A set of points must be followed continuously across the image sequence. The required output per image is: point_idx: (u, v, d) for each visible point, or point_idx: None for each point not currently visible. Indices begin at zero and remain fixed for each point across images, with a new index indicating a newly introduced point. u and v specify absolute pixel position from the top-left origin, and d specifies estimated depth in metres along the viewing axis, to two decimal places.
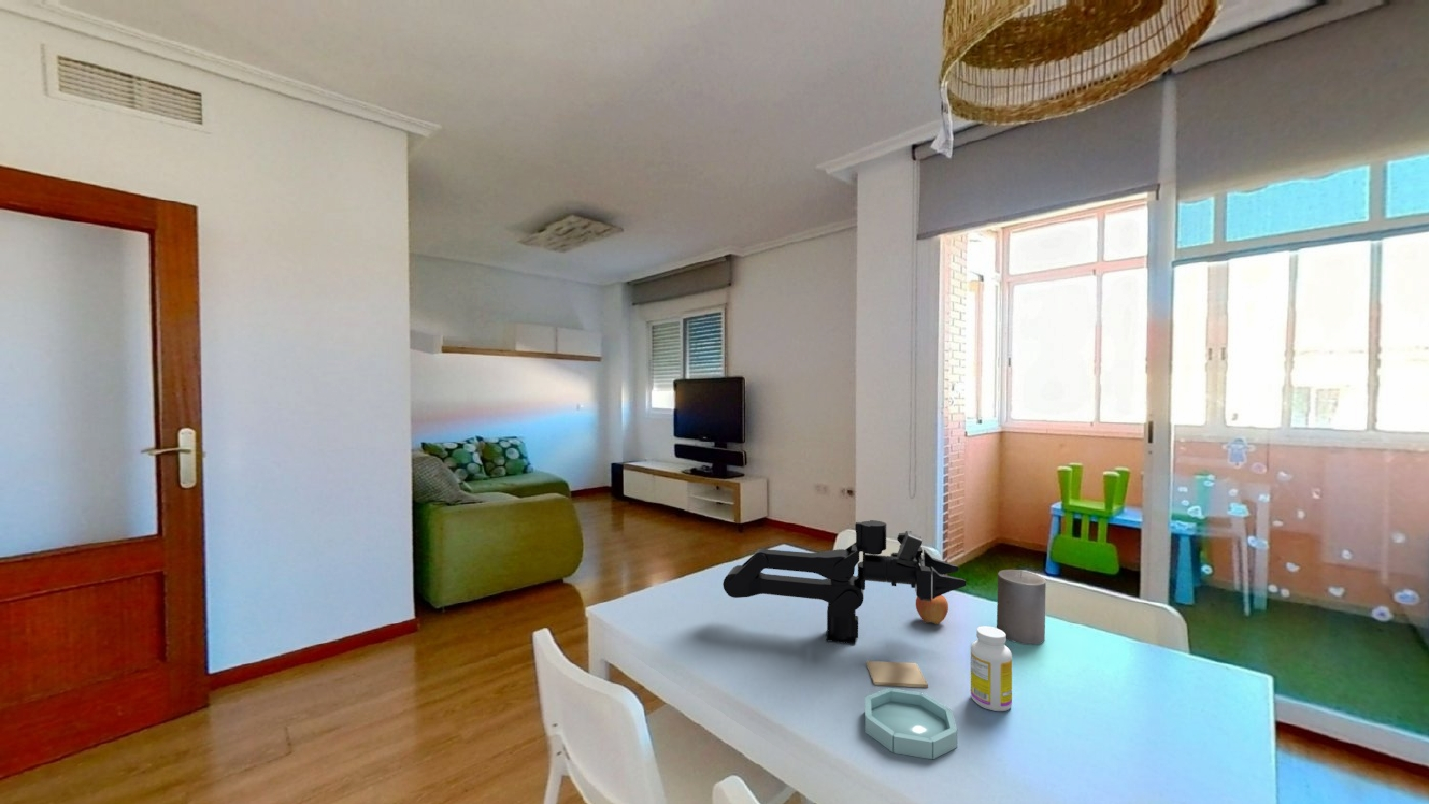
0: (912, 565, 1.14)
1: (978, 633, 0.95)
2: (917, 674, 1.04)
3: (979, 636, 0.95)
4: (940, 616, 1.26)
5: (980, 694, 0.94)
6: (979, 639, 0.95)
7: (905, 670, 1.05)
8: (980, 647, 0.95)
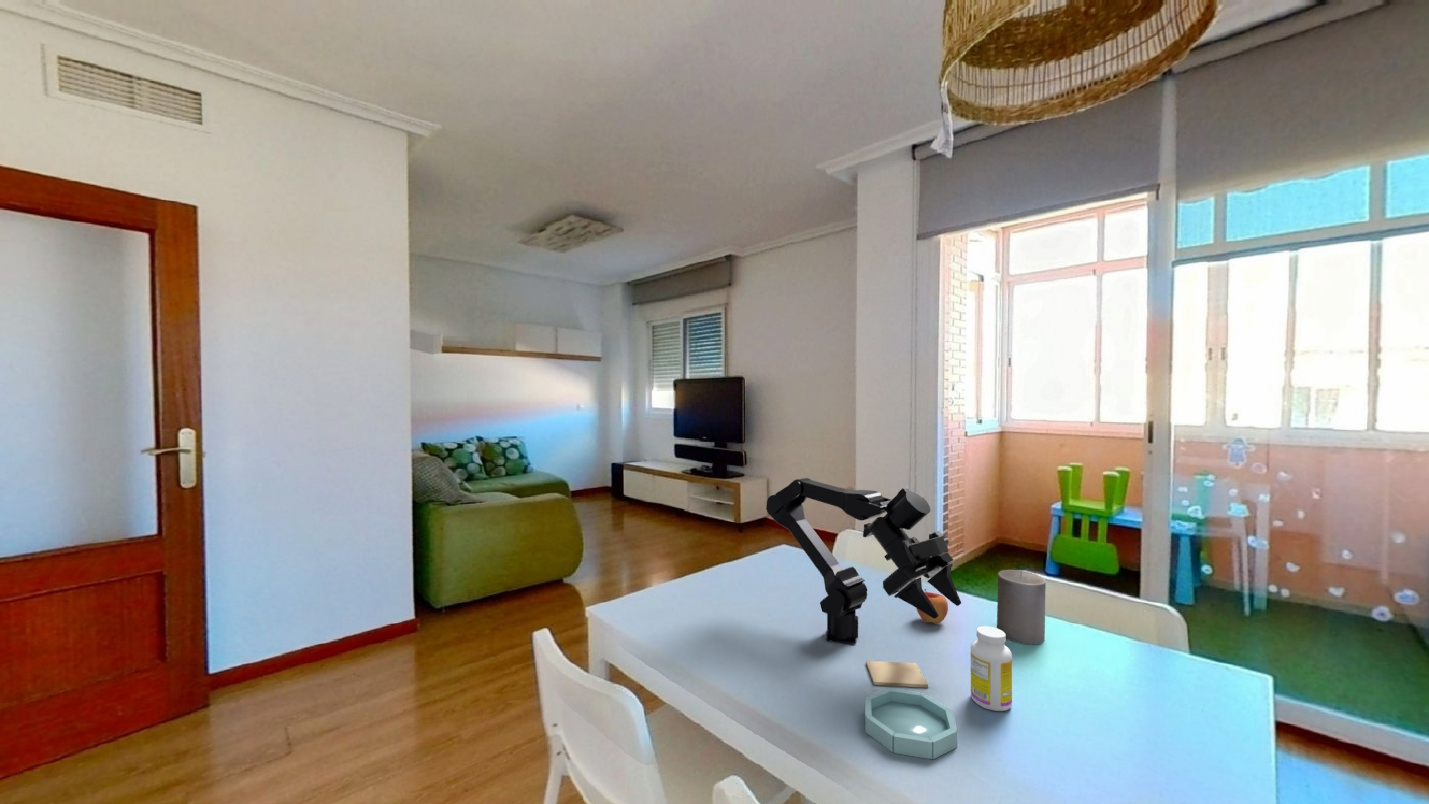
0: (912, 561, 1.04)
1: (978, 633, 0.95)
2: (917, 674, 1.04)
3: (979, 636, 0.95)
4: (940, 616, 1.26)
5: (980, 694, 0.94)
6: (979, 639, 0.95)
7: (905, 670, 1.05)
8: (980, 647, 0.95)
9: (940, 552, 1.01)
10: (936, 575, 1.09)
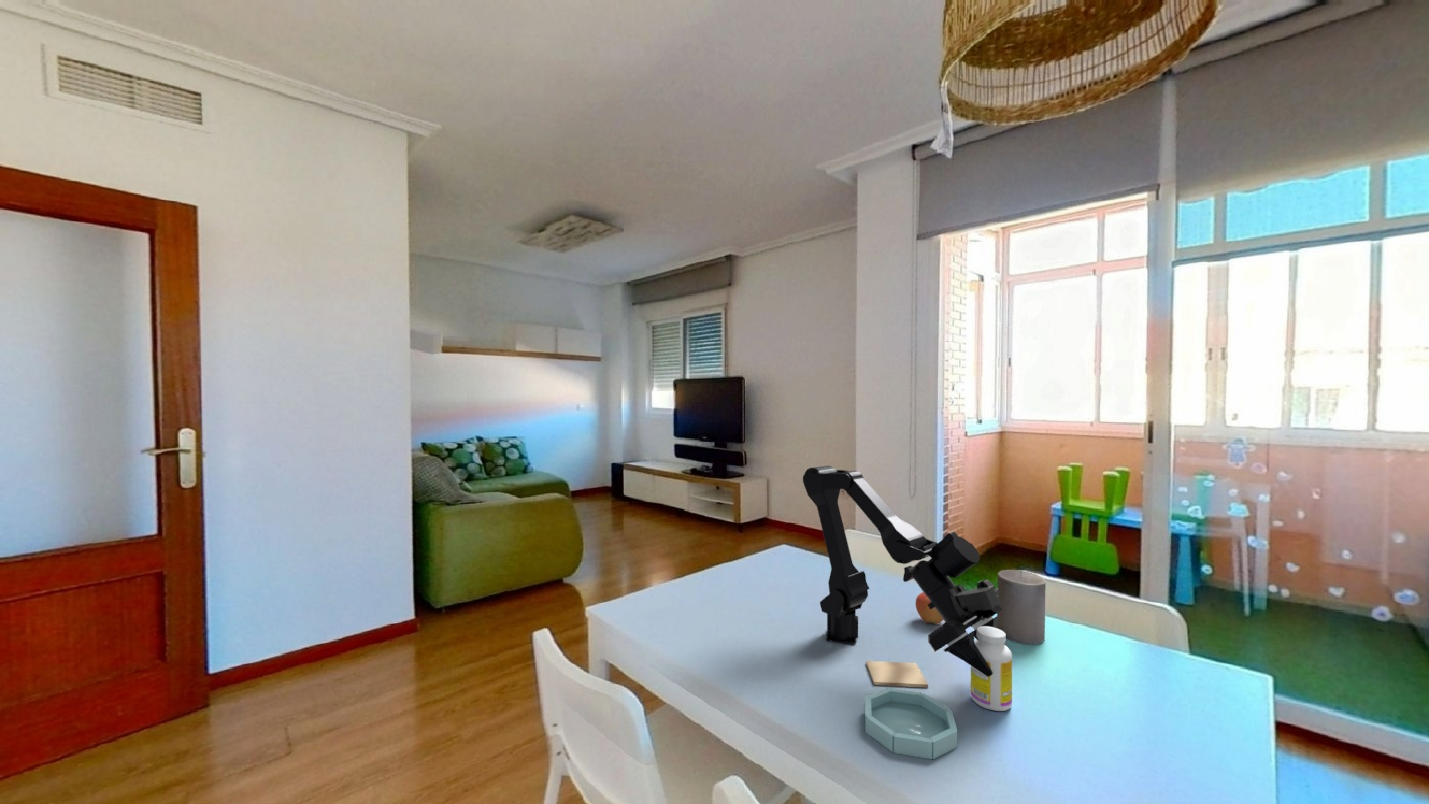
0: (959, 613, 0.97)
1: (978, 633, 0.95)
2: (917, 674, 1.04)
3: (979, 636, 0.95)
4: (940, 616, 1.26)
5: (980, 694, 0.94)
6: (979, 639, 0.95)
7: (905, 670, 1.05)
8: (980, 647, 0.95)
9: (991, 606, 0.94)
10: None
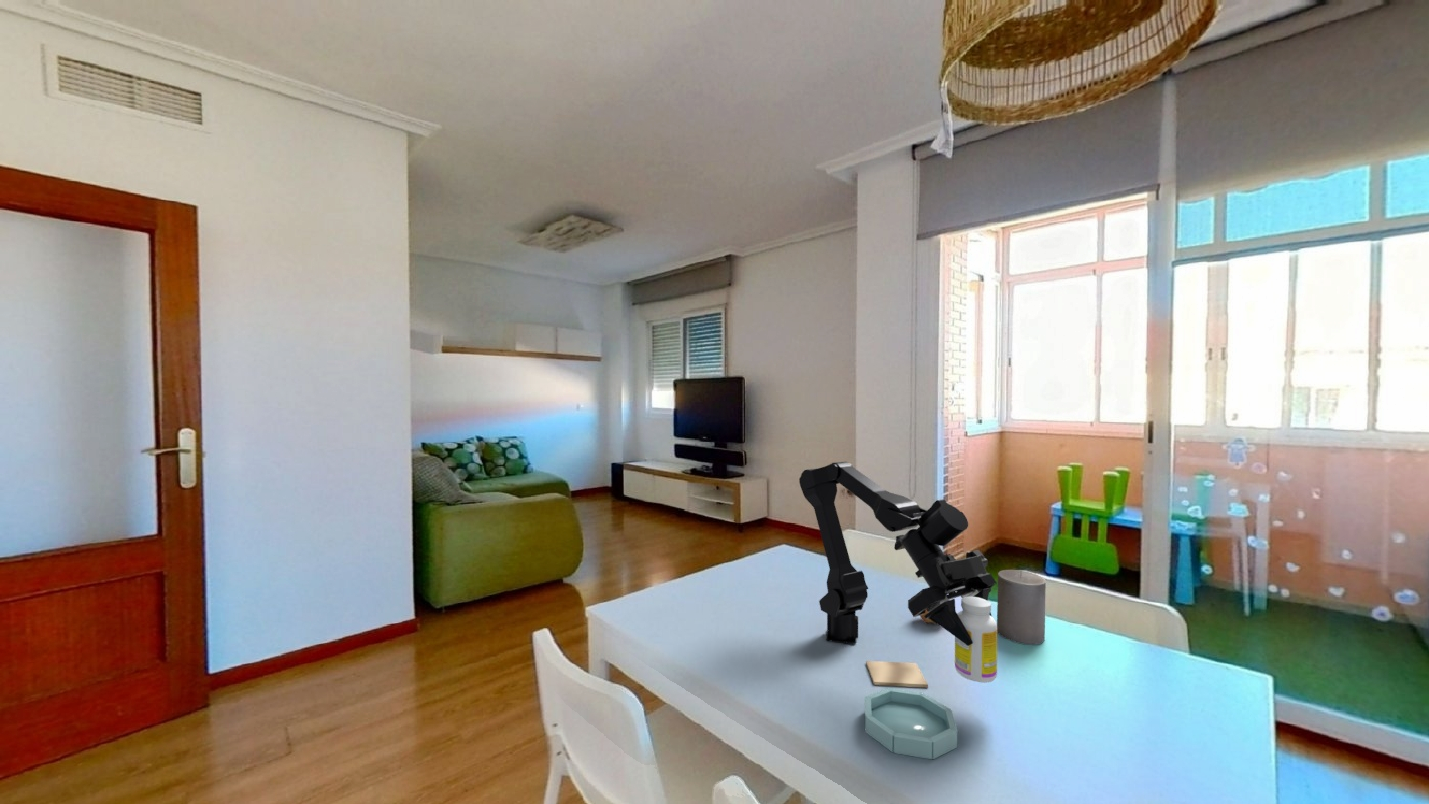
0: (943, 581, 0.95)
1: (962, 602, 0.93)
2: (917, 674, 1.04)
3: (962, 605, 0.92)
4: None
5: (961, 664, 0.91)
6: (963, 608, 0.93)
7: (905, 670, 1.05)
8: (963, 616, 0.92)
9: (975, 574, 0.91)
10: None
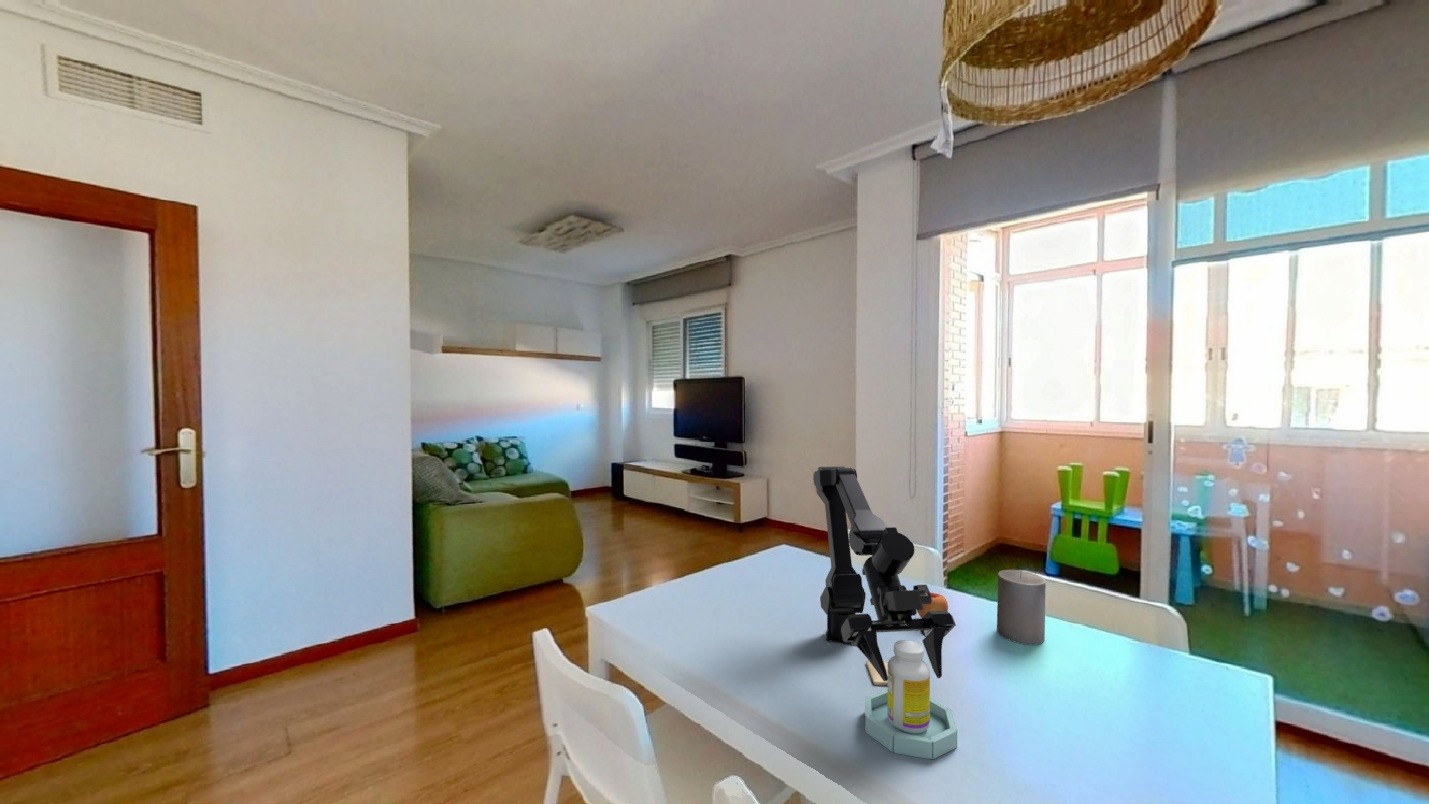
0: (881, 611, 0.92)
1: (894, 644, 0.89)
2: None
3: None
4: None
5: (888, 708, 0.88)
6: None
7: None
8: (893, 659, 0.89)
9: (903, 608, 0.87)
10: (928, 636, 0.92)
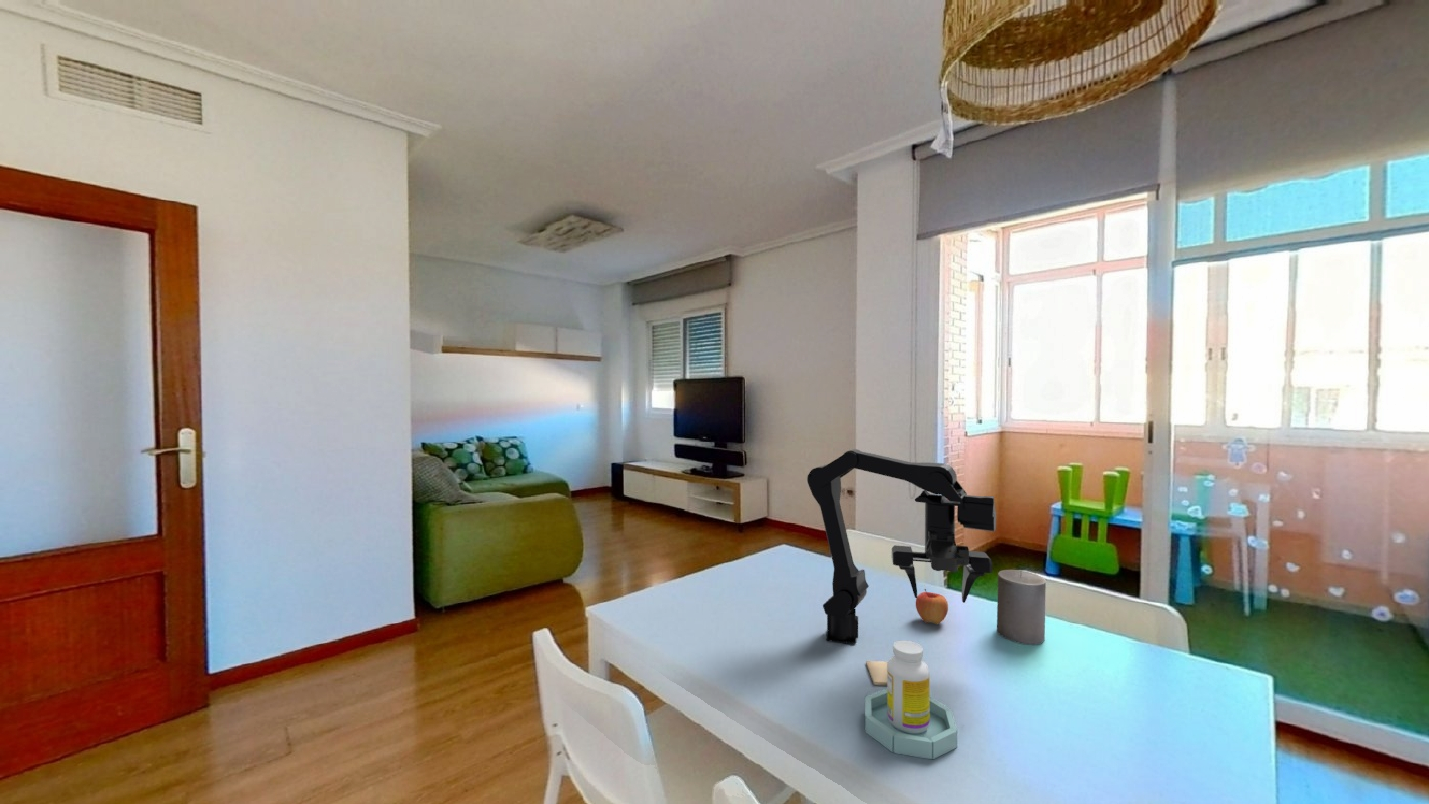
0: (926, 551, 1.08)
1: None
2: None
3: (893, 648, 0.89)
4: (940, 616, 1.26)
5: (888, 708, 0.88)
6: None
7: None
8: (892, 659, 0.89)
9: (937, 569, 1.03)
10: (966, 569, 1.09)
